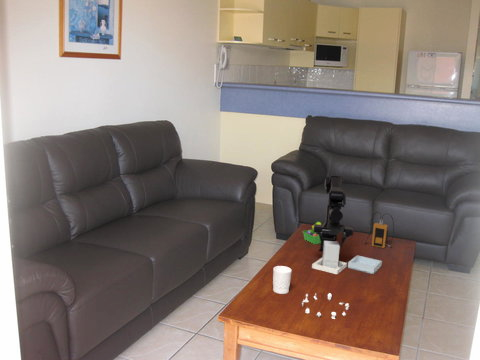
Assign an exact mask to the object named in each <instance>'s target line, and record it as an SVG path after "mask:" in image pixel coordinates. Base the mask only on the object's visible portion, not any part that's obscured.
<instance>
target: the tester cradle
mask: <svg viewBox="0 0 480 360" xmlns="http://www.w3.org/2000/svg"><path fill="white" fill-rule="evenodd" d="M311 268H312V269H314V270H319V271H323V272H326V273H330V274H334V275H339V273H341V272H342V271H343V270H344V269H346V268H348V262H344V261H341V260H338V267H337V268H336V269H334V268H330V267H326V266H322V257H320V258H319V259H318V260H316V261H315V262H313V263H312V264H311Z"/></svg>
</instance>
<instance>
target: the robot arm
mask: <svg viewBox="0 0 480 360" xmlns="http://www.w3.org/2000/svg"><path fill="white" fill-rule="evenodd" d="M342 181H343V179H342V178H341V176H340V175H338V174H337V175H336V174H335V175H334V174H331V175H329V176H328V177H326V178H325V180H324V188H325V191H326V193H327V200H326V201H327V202H326V212H325V213H326V215H325V221H324V223H323V224H321V225H319V224H316V223H315V224H313V225H314V228H313V229H312V230H314V232H315V233H316V234H318V235H319V237H320V241H321V243H320V248H319V249H318V251H319V252H323V246H324V241H336V242H338V241H337V240H338V236H339V235H340V233H342V235H341V241H340V245H339V246H340V248H342V247H343V245H344V243H345V241H346V240H347V238H350V237H352V236H353V235H354V229H353V228H352V227H351V226H345V225H344V224H341V221H342V220H343V216H344V215H343V212H342V208H345V205H346V202H347V201H346V200H347V199H346V194H345V193H344V190H343V188H342V183H343V182H342Z"/></svg>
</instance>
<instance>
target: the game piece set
mask: <svg viewBox="0 0 480 360" xmlns="http://www.w3.org/2000/svg"><path fill="white" fill-rule="evenodd" d="M308 297H309V294H308V293H306V294H305V299H303V300H302V302H301V305H302V306H304V303H309V300H308ZM313 299H314V300H318V298H317V293H315V294H314V296H313ZM327 300H328V301H331V300H332V293H330V292H329V293H328V294H327ZM338 304H339V305H341V306H343V304H345V305H344V306H345V310H346V311H348V310H349V307H350V305H349V303H344V302H339V303H338ZM304 310H305V313H306V314H310V308H306V309H304ZM341 314H342V316H344V317H345V316H346V315H347V313H346V312H345V311H343V312H342V313H341ZM316 316H317V317H318V318H320V317H321V316H322V314H321V312H320V311H318V312H317V314H316ZM336 316H337V312H335V311H332V312H331V319H334V320H335V319H336Z"/></svg>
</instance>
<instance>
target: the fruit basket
mask: <svg viewBox="0 0 480 360" xmlns="http://www.w3.org/2000/svg"><path fill="white" fill-rule="evenodd" d="M315 224H319V225H322V222H320V221H316V222H315ZM315 224H313V225H312V226H311V229H308V230H307V229H306V230H302V234H303V239H304V241H306V240H307V241H306V242H308V241H309V243H310V242H311V244H312V243H313V244H312V245H318V244H321V241H320V237H319V235H318V234H316V233H315V232H314V230H313V228H314V225H315Z"/></svg>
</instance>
